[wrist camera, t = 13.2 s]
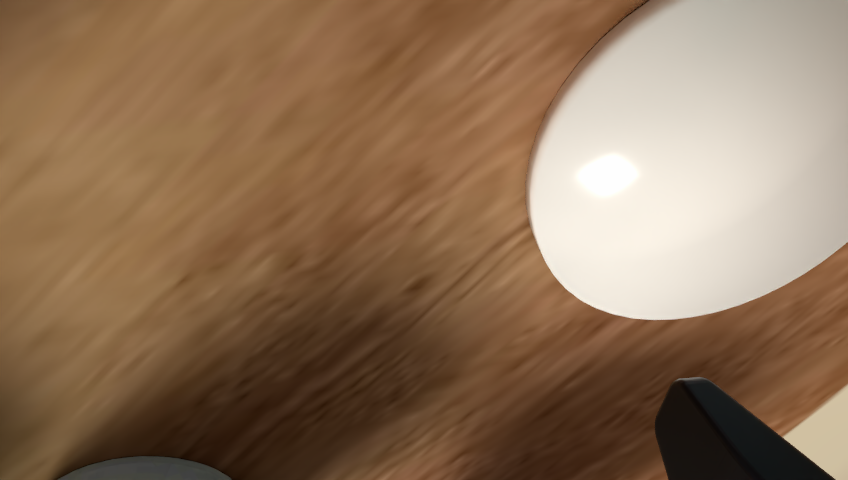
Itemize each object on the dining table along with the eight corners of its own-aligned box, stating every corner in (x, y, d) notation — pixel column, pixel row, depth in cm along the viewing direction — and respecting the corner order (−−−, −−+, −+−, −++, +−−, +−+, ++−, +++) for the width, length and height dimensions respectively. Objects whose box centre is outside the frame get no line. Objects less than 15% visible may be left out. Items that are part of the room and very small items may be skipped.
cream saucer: (495, 311, 28) (502, 331, 27) (575, -56, 20) (589, -41, 19) (812, 290, 30) (827, 308, 30) (999, -40, 22) (1026, -27, 22)
